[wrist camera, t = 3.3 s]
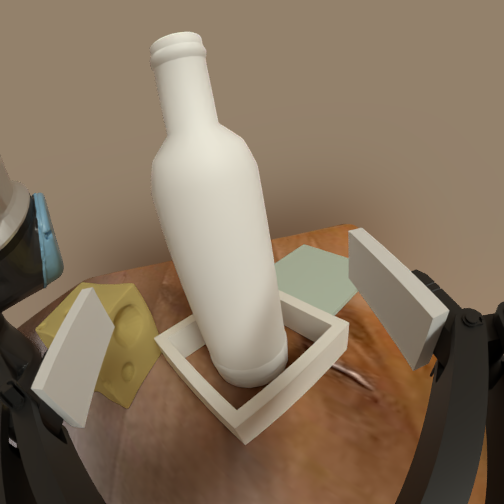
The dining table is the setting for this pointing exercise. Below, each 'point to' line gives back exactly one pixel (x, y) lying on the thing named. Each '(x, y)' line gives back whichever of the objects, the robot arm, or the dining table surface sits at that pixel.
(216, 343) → the bottle
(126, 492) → the dining table surface
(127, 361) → the cheese
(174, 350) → the bottle holder
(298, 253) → the mat
